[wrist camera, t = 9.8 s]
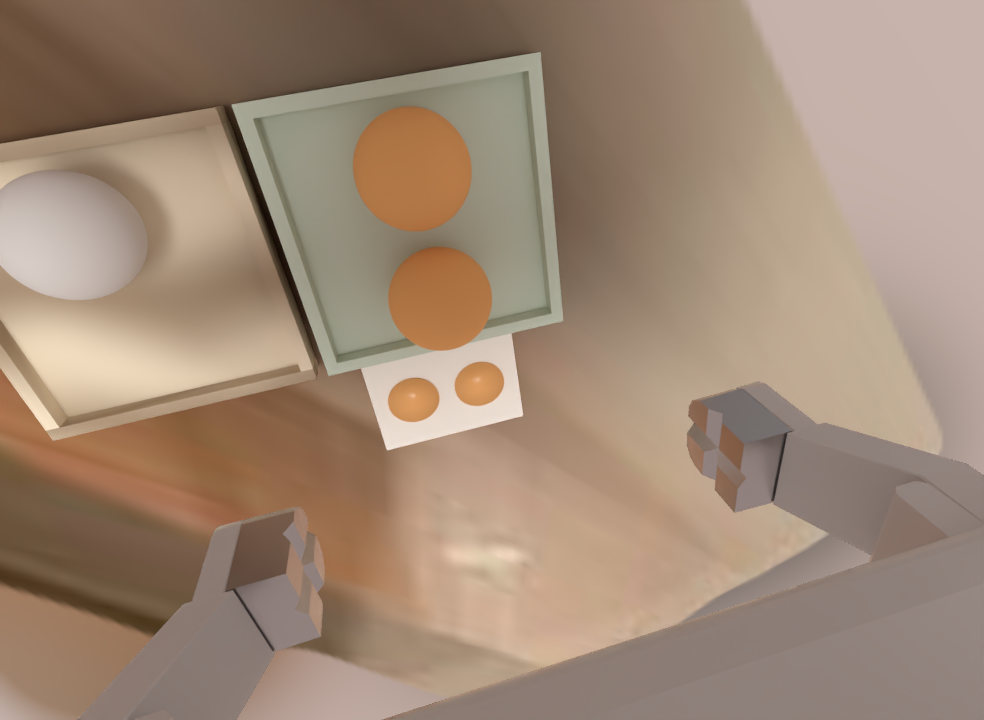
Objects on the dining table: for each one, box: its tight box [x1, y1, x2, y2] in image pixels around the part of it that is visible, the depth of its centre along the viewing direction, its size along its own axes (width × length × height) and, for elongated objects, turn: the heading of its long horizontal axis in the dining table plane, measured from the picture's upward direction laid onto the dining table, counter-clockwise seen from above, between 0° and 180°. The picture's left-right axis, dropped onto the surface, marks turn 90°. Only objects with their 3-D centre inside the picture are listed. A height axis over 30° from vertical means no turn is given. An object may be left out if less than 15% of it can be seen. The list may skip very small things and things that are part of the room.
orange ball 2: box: [388, 247, 492, 351], centre depth 20 cm, size 4×4×4 cm
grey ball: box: [0, 170, 148, 300], centre depth 17 cm, size 4×4×4 cm
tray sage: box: [232, 52, 563, 376], centre depth 21 cm, size 10×10×1 cm
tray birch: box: [0, 106, 319, 441], centre depth 19 cm, size 10×10×1 cm
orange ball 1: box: [353, 106, 472, 231], centre depth 18 cm, size 4×4×4 cm
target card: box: [361, 333, 523, 450], centre depth 25 cm, size 5×7×1 cm
